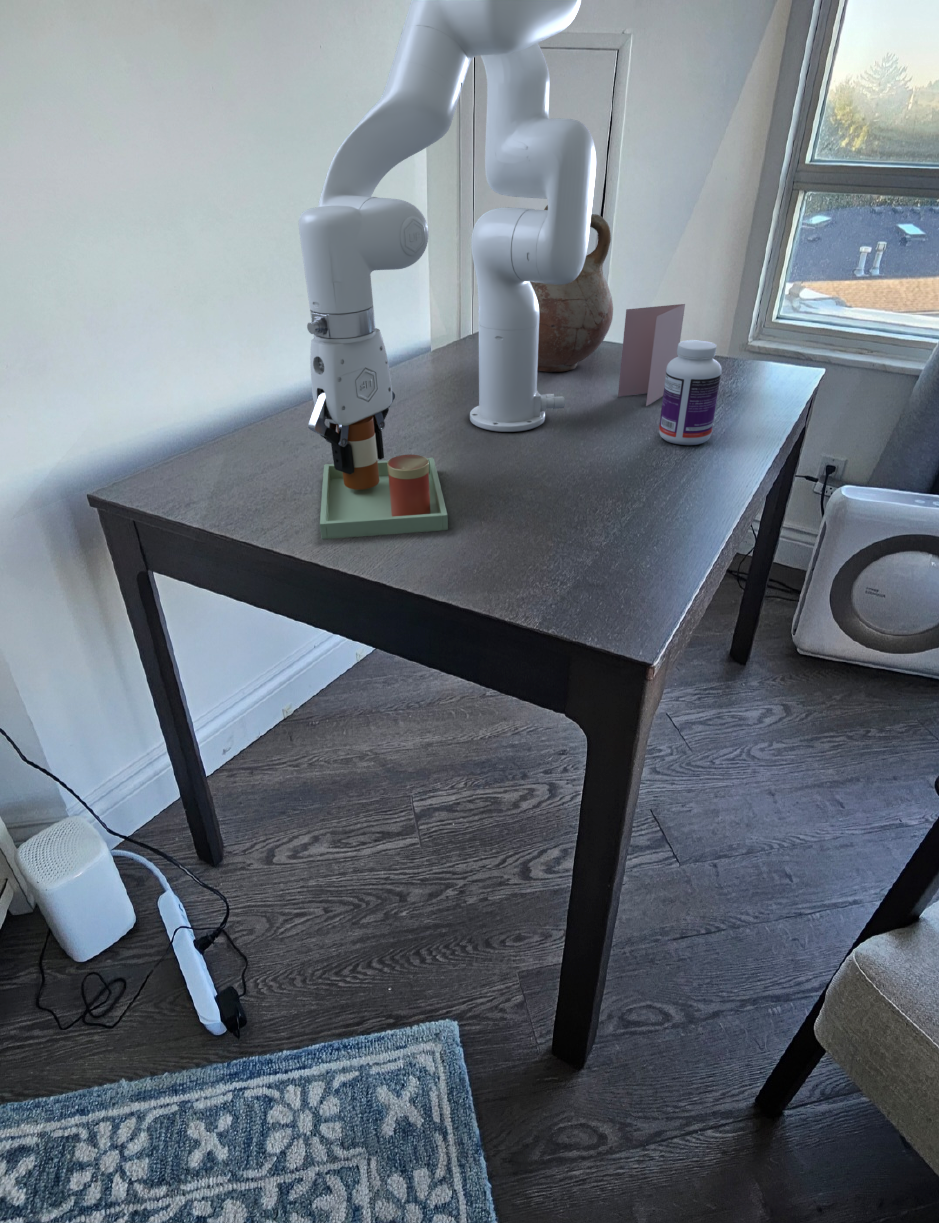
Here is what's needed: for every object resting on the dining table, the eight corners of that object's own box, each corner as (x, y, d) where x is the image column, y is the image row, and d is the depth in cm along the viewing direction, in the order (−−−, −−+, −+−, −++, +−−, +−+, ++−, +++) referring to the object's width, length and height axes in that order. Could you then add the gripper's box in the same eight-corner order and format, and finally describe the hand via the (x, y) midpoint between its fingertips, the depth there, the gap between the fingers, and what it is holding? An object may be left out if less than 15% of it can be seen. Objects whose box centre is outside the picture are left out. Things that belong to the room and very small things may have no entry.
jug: (501, 351, 163) (503, 192, 146) (601, 351, 162) (614, 191, 145) (501, 381, 145) (503, 205, 128) (614, 381, 144) (631, 203, 127)
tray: (434, 474, 108) (433, 457, 107) (448, 533, 93) (447, 514, 92) (326, 481, 107) (323, 464, 105) (322, 543, 92) (319, 523, 90)
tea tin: (429, 503, 99) (426, 452, 95) (432, 520, 95) (430, 468, 91) (390, 506, 99) (386, 455, 95) (392, 523, 94) (388, 471, 91)
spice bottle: (379, 473, 105) (370, 387, 98) (380, 488, 101) (371, 400, 94) (343, 476, 104) (332, 390, 98) (343, 491, 100) (332, 403, 94)
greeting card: (670, 388, 140) (682, 302, 132) (692, 400, 134) (706, 311, 126) (615, 395, 137) (623, 308, 129) (635, 407, 131) (645, 317, 123)
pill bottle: (714, 433, 121) (730, 340, 113) (705, 450, 115) (721, 354, 107) (663, 426, 123) (676, 335, 115) (652, 443, 117) (664, 348, 109)
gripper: (312, 344, 83) (333, 494, 94) (413, 312, 94) (422, 449, 105) (267, 334, 87) (292, 479, 98) (369, 304, 98) (382, 438, 108)
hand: (359, 462), depth 101 cm, fingers closed on spice bottle, 4 cm apart
